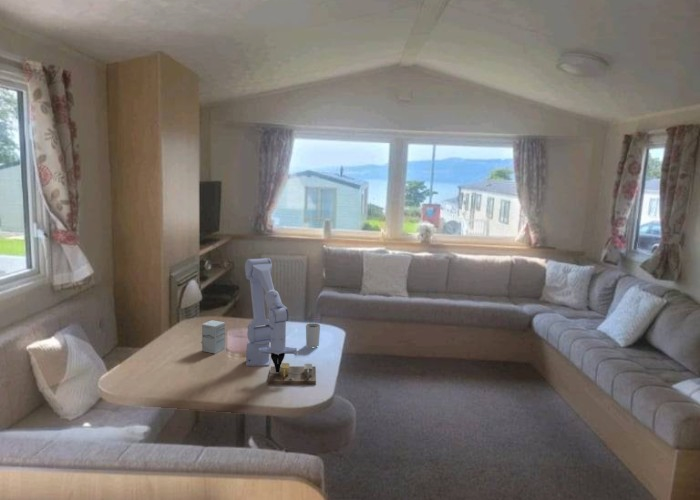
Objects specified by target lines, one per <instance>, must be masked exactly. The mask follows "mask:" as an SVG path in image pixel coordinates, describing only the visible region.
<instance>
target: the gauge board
mask: <svg viewBox="0 0 700 500" xmlns="http://www.w3.org/2000/svg"><path fill="white" fill-rule="evenodd" d="M269 369H270V370H269V375H268V380H267V385H268V386H287V385H288V386H289V385H291V386H294V385H295V386H296V385H297V386H299V385H300V386H302V385H303V386H310V385H311V386H312V385H313V386H316V385H317V375H316V373H317V371H316V366H313V363H304V365H303V366H298V365H297V366H294V365H293V366H291V365H289V375H285V379H283V375H281V366H280V371H279V372H276V369H275V365H274V366H272V365H271V366H270V368H269Z"/></svg>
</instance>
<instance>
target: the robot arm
mask: <svg viewBox="0 0 700 500" xmlns="http://www.w3.org/2000/svg"><path fill="white" fill-rule="evenodd" d="M272 270H273V262H272V260H271V259H270V258H269V257H265V258H263V257H262V258H247V259H246V261H245V263H244V272H245V273H244V274H245V278H246V280H249V286H250V295H251V305H252V315H253V319H252V320H251V321H250V322H249V324H247V333H246V335H247V339H248V342H246V351H245V352H246V353H245V354H246V357H245V362H246V363H245V365H246V367H247V366H252V367H253V366H254V367H255V366H260V367H261V366H262V367H263V366H266V367H267V366H270V364H271V360H272V362H273V365H274V366H275V369H276V372H279V371H280V366H281V364H282V363H283V360H284V359H285V356H286V354H287V355H288V354H289V355H292V354H293V355H297V354H298V348H297V347H288V346H286V342H287V341H286V340H287V338H286V336H287V335H286V334H287V333H286V329H287V326H286V325H287V322H288V321H289V318H290V317H289V316H290V315H289V314H290V313H289V310H288V307H287V306H285V304H283V303H282V299H281V296H280V294H279V292H278V291H277V290H275V288H274V287H275V286H274V284H273V278H272ZM264 291H265V294H264ZM265 303H266V306H267V310H268V314H267V315H268V319H267V318H266V309H265Z"/></svg>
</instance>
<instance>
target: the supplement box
mask: <svg viewBox="0 0 700 500" xmlns="http://www.w3.org/2000/svg"><path fill="white" fill-rule="evenodd" d="M225 349H226V322H224V321H218V320H213V319H211V320H209V321H206V322H203V323H202V324H201V351H202V352H206V353H210V354H214V355H216V354H218V353H220V352H222V351H224V350H225Z"/></svg>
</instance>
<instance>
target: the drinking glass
mask: <svg viewBox="0 0 700 500" xmlns="http://www.w3.org/2000/svg"><path fill="white" fill-rule="evenodd" d="M320 331H321V324H320V323H316V322H309V323H307V324H305V341H306V343H305V345H306V348H308V347H310V348H309V349H312V348H311V347H317V346H319V345H320V334H321V333H320ZM317 348H318V347H317Z"/></svg>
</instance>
